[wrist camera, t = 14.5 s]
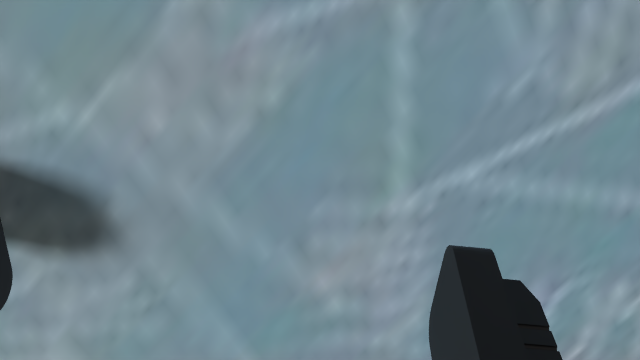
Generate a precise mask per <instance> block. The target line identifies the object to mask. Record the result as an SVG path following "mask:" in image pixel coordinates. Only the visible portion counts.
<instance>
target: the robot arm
mask: <svg viewBox="0 0 640 360" xmlns="http://www.w3.org/2000/svg"><path fill="white" fill-rule="evenodd" d="M11 286H12V267H11V262H10V258H9V254H8V249H7V245H6V241H5V236H4V232H3V228H2V224H1V219H0V310H1V309H2V307H3V306H4V304H5V303H6V301H7V299H8V296H9V294H10V290H11ZM429 343H430V350H431V357H432V360H562V357H561V355H560V352H559V351H557V345H556V342H555V339H554V337H553V334H552V332H551V331H549V324H548V322H547V319H546V317H545V314H544V311H543V309H542V306H541V304H540V302H539V301H538V300H537V299H536V297H535V296H534V295H533V294H532V293H531V292H530V291H529V290H528V289H527V288H526V287H525V286H524V284H523V283H522V282H521V281H520V280H509V279H502V276H501V273H500V270H499V267H498V264H497V261H496V258H495V255H494V253H493V251H492V250H491V249H485V248H474V247H463V246H452V245H449V246H448V247H447V249H446V251H445V254H444V258H443V262H442V266H441V270H440V274H439V278H438V282H437V286H436V291H435V295H434V299H433V303H432V307H431V312H430V320H429Z"/></svg>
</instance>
